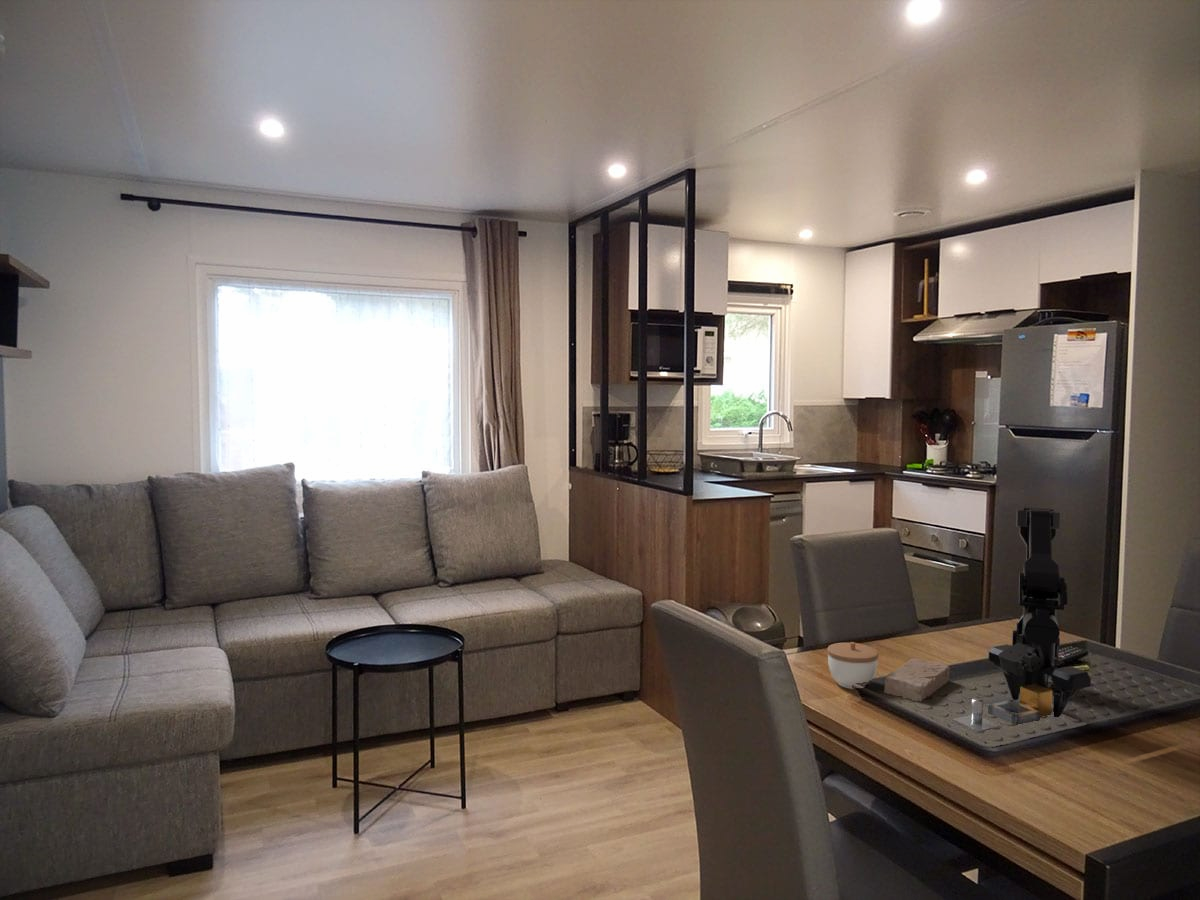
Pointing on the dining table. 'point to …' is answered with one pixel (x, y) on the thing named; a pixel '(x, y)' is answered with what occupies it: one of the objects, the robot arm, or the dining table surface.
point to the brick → (917, 679)
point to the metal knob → (976, 718)
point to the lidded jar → (852, 663)
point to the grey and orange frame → (1025, 705)
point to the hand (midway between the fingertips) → (1035, 708)
